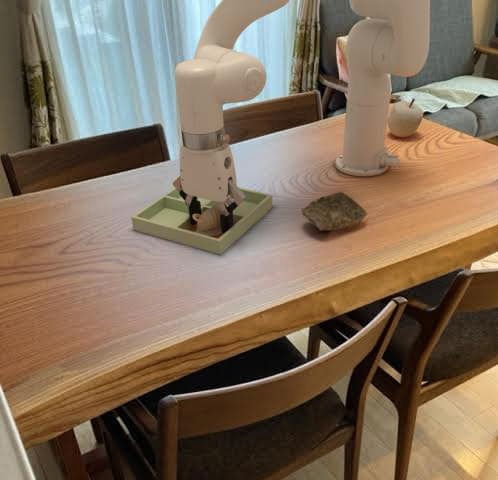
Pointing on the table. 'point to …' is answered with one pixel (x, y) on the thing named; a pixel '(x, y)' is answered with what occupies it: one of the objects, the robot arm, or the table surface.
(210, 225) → the decorative ornament
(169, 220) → the grid
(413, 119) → the decorative object
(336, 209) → the stone
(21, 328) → the table surface
